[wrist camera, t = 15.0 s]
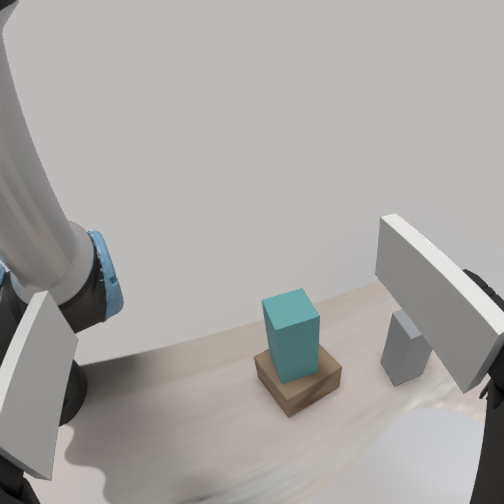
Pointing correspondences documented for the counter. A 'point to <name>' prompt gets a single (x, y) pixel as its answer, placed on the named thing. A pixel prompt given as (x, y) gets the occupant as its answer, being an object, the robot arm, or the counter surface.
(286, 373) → the teal pillar
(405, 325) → the grey pillar
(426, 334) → the robot arm
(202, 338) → the counter surface
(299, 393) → the walnut block
